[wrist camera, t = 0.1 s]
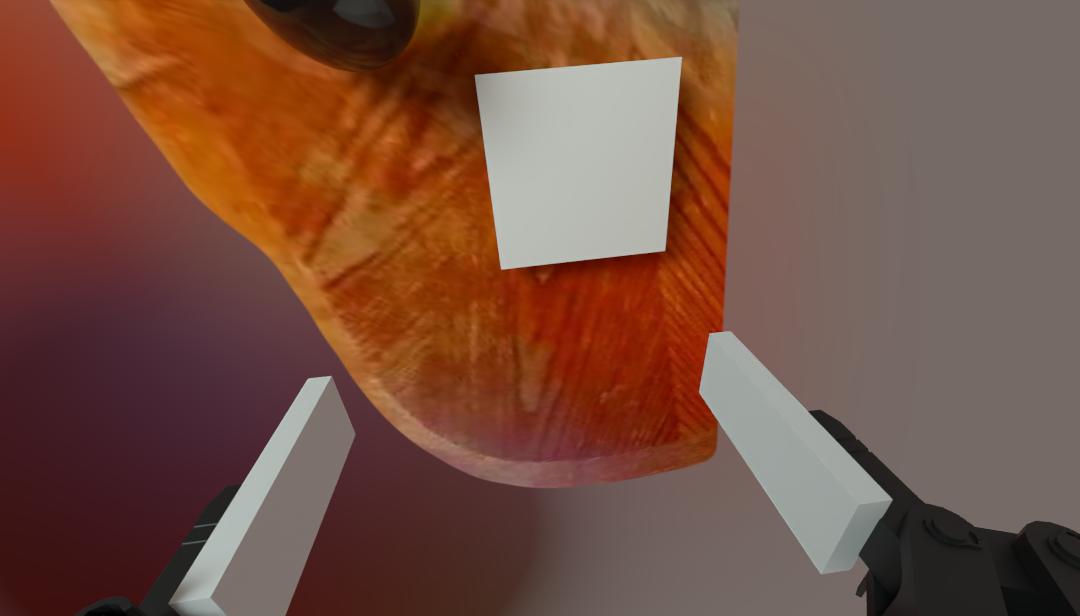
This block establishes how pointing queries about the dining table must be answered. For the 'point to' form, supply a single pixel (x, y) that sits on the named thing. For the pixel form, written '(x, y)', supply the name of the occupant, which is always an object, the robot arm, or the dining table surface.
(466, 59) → the dining table surface
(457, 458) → the dining table surface
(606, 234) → the ceramic base
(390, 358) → the dining table surface
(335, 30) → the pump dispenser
